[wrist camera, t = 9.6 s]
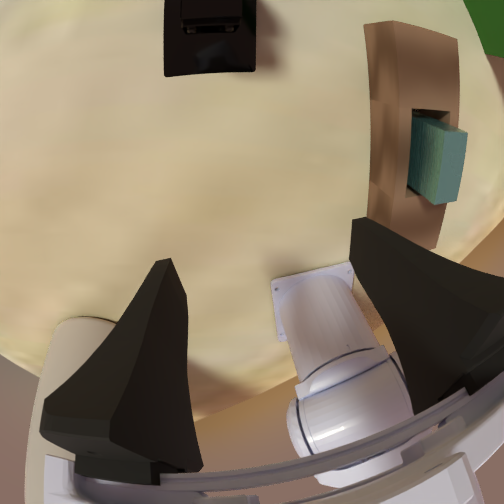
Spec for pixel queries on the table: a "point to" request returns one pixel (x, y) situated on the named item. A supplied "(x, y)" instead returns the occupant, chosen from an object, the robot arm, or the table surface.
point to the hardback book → (488, 24)
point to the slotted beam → (406, 120)
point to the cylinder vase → (54, 375)
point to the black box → (209, 36)
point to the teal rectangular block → (436, 158)
